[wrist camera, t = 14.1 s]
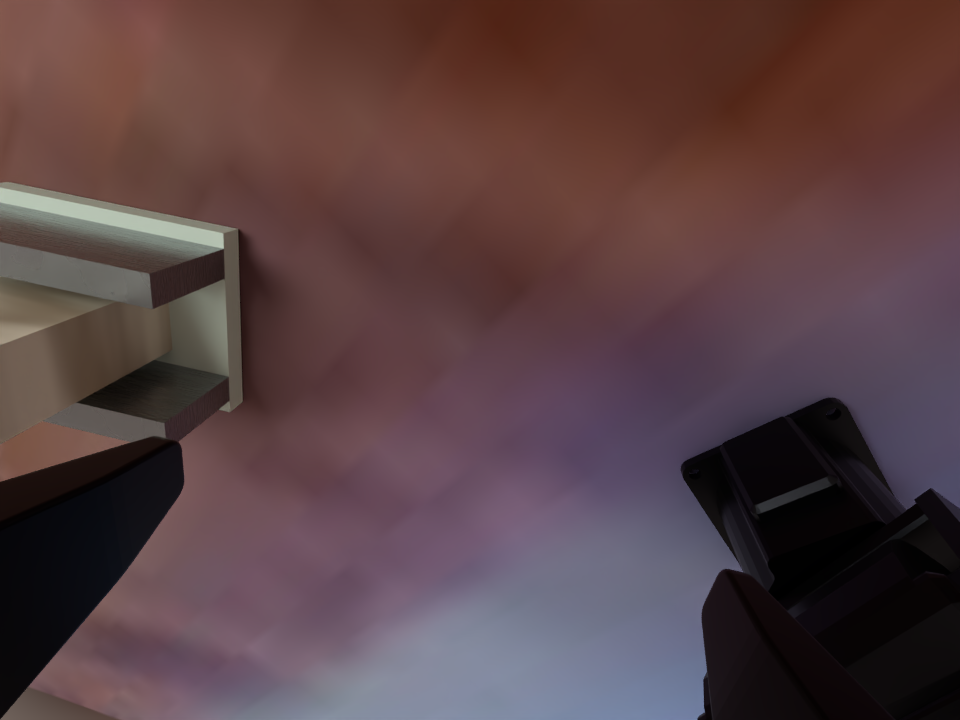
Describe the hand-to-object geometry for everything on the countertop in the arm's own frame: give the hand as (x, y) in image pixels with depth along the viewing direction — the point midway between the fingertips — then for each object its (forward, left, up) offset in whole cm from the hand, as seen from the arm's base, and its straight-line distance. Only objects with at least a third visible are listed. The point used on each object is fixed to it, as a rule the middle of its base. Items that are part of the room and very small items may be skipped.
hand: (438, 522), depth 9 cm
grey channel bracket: (+9, +14, -13) cm, 21 cm away
